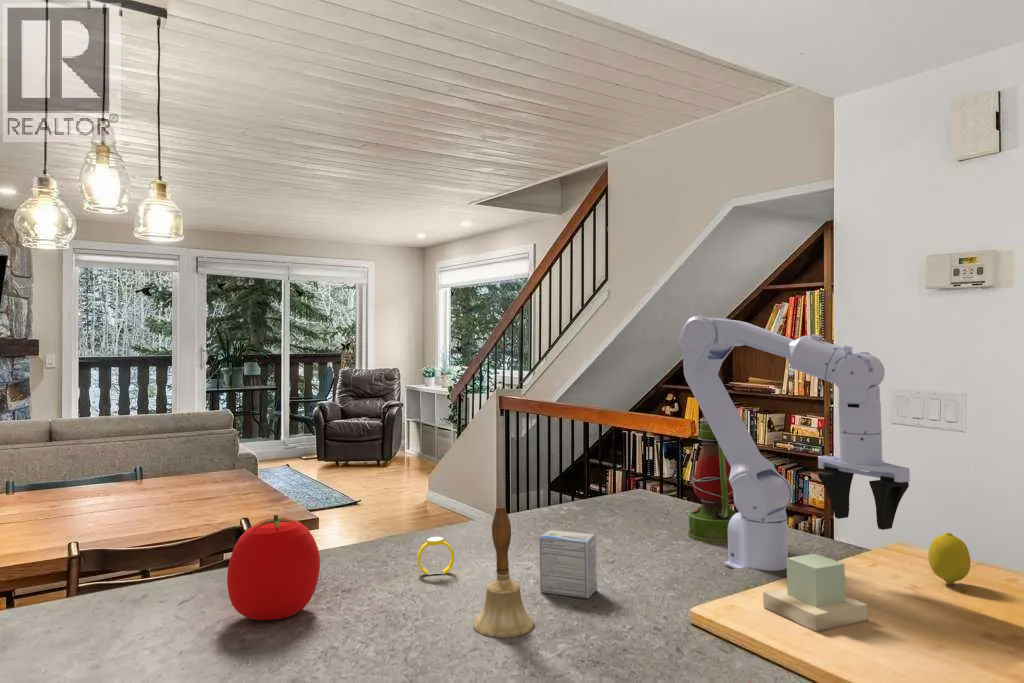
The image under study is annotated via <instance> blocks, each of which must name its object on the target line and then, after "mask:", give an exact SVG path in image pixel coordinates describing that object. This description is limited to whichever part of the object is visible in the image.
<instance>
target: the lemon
mask: <svg viewBox="0 0 1024 683" xmlns="http://www.w3.org/2000/svg"><path fill="white" fill-rule="evenodd" d="M927 554H928V556H927V557H928V564H929V566H930V568H931V570H932V572H933V573H934V574H935V575H936V576H937V577H938V578H940V579H942V580H943V581H944V582H945V583H946V584H948V585H954V584H955V583H956V582H958V581H962V580H963V579H964V578H965V577H967V576H968V574H969V572H970V569H971V565H972V564H971V556H970V555H971V554H970V552H969V549H968V547H967V545H966V543H965V542H964V541H963V540H962V539H961V538H959V537H958V536H955V535H953V534H952V533H951V532H945V533H944V534H941V535H938V536H936V537H934V538H933V540H932V541H931V542H930V545H929V548H928V553H927Z"/></svg>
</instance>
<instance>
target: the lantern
mask: <svg viewBox="0 0 1024 683" xmlns="http://www.w3.org/2000/svg"><path fill="white" fill-rule="evenodd" d="M699 421H700V423H699V436H698V437H697V439H698V440H700V441H702V446H701V448H700V451H699V455H698V458H697V463H696V467H695V472H694V474H693V475H692V478H691V482H692V486H693V491H694V494H695V496H697V497H699V498H700V501H701V502H702V505H700V506H698V507H695V508H693V509H692V510H690V512H688V530H687V534H688V535H687V538H689V539H691V540H692V541H697V542H700V543H706V544H713V545H715V544H717V545H720V544H721V545H728V524H729V521H730V519H731V518H732V516H733V515H735V514H736V513H738V512H737V511H736V510H734V509H732V508H730V504H729V499H731V498H732V497H734V494H733V489H732V486H731V484H730V482H729V477H730V472H731V466H730V464H729V463H728V461H727V459H726V457H725V455H724V453H723V451H722V449H721V447H720V445H719V443H718V441H717V439H716V437H715V435H714V433H713V432H712V430H711V428H710V426H709V424H708V422H707V420H706V418H705V416H704V417H702V418H700V419H699Z"/></svg>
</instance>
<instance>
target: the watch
mask: <svg viewBox="0 0 1024 683" xmlns="http://www.w3.org/2000/svg"><path fill="white" fill-rule="evenodd" d="M440 545H443V546H445V547H447V549H448V550H449V553H450V560H449V563H448V565H447V566H446V567H445V568H444V569H443V570H442V571H444V573H446V574H447V573H448V572H449V571H450V570H451V569H452V567H453V565H454V562H455V555H454V553H455V552H454V551H453V549H452V547H451V545H450V543H448V542H447V541H445V540H444V537H442V536H432V537H429V538H427V539H426V542H424V543H423V544H422V545H421V547H420V548H419V549H418V552H417V560H416V561H417V565H418V567H419V569H420V571H421V572H422V573H423V574H424V575H426V574H428V572H429V571H428V570H426V569H425V568H424V567H423V565H422V563H421V558H422V557H421V555H422V553H423V551H424V550H425V549H426V548H427V547H429V546H440Z"/></svg>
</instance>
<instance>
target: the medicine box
mask: <svg viewBox="0 0 1024 683" xmlns="http://www.w3.org/2000/svg"><path fill="white" fill-rule="evenodd" d="M596 537H597V536H596V535H595V534H592V533H582V532H572V531H561V530H552V529H551V530H548V531H546V532H545V533H543V534H542V535H540V536H539V538H538V541H539V542H538V545H539V546H538V547H539V551H538V552H539V554H538V555H539V557H538V558H539V592H540V593H546V594H552V595H558V596H559V595H560V596H567V597H573V598H580V599H589V598H590V597H591V596H592V595H593V594H594V593H595V592H596V591H597V590H598V578H597V576H598V575H597V544H596V543H597V538H596Z"/></svg>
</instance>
